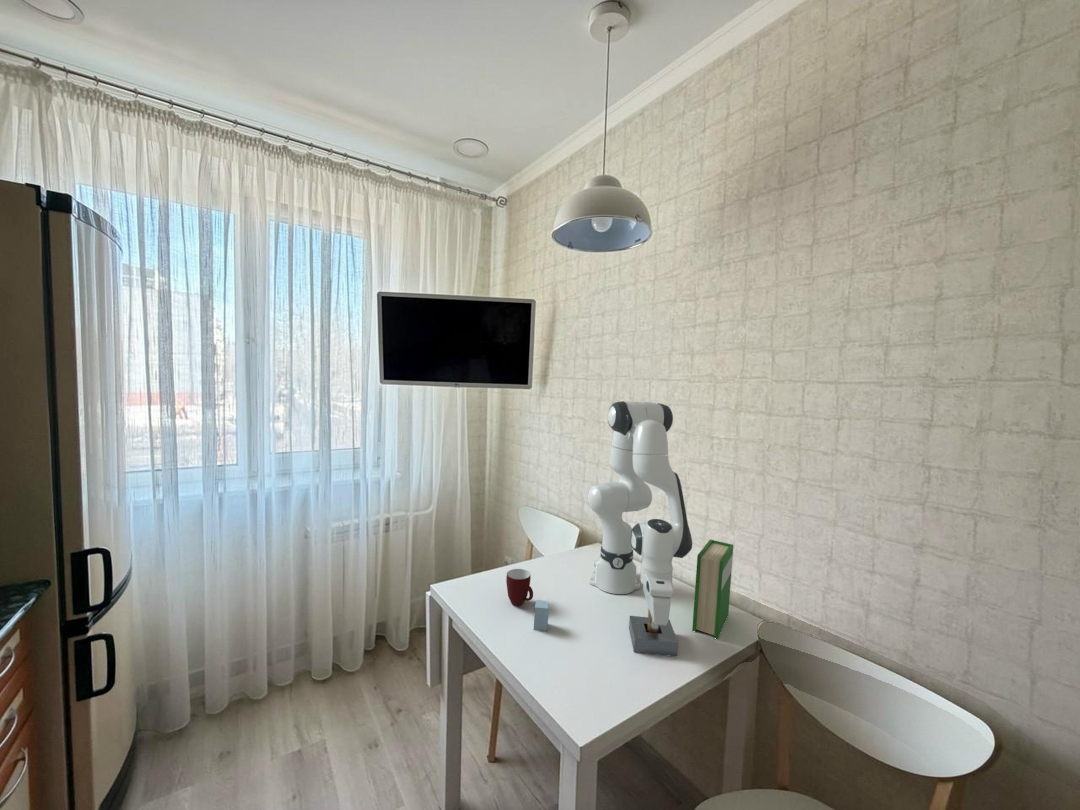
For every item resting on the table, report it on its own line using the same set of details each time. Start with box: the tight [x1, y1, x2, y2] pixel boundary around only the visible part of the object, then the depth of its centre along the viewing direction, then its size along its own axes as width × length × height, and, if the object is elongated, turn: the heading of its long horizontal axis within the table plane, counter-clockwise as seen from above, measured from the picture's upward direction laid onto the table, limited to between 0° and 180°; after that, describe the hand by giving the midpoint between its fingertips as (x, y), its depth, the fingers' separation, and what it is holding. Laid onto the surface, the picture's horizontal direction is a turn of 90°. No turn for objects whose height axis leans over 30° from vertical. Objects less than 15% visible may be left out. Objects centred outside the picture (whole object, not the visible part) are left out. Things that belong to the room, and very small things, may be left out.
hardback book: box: [691, 539, 734, 640], centre depth 137 cm, size 18×7×24 cm, turn 147°
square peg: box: [533, 600, 550, 632], centre depth 131 cm, size 4×4×7 cm
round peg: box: [647, 609, 659, 633], centre depth 126 cm, size 3×3×9 cm
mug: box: [505, 568, 534, 607], centre depth 143 cm, size 10×8×10 cm
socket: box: [628, 615, 679, 657], centre depth 126 cm, size 12×12×4 cm
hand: (653, 623), depth 126 cm, fingers closed on round peg, 3 cm apart
